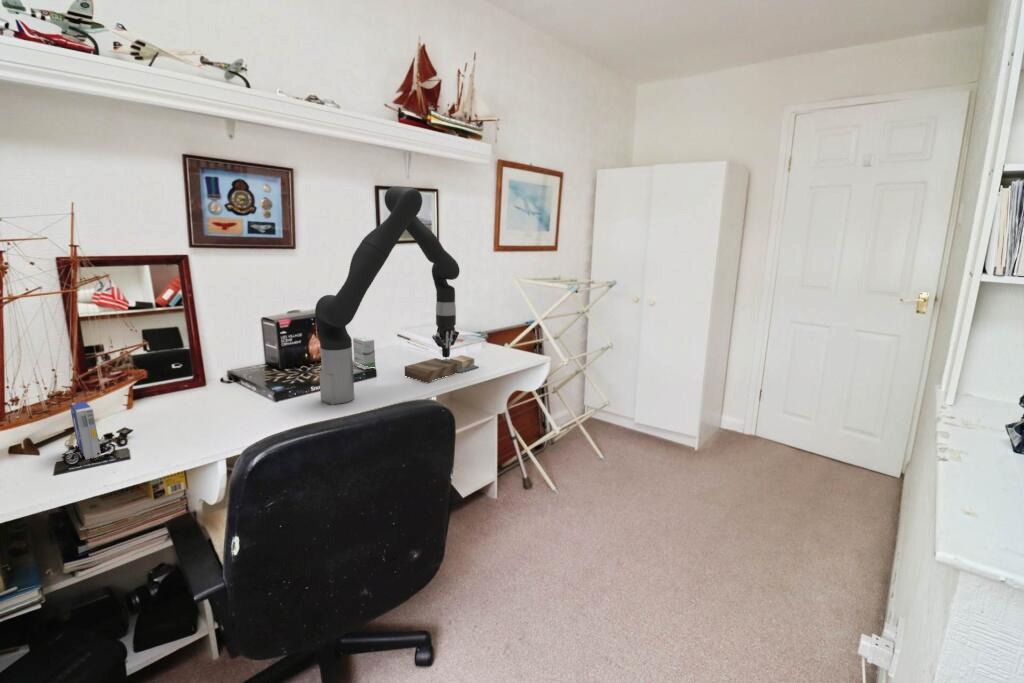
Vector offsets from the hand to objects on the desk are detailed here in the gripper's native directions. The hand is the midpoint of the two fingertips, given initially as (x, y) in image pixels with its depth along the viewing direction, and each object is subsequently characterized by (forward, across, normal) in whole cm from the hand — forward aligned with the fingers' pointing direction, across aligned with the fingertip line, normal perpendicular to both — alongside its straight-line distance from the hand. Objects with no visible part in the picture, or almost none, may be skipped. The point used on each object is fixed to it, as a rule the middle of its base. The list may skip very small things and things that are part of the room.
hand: (446, 356), depth 185 cm
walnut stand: (+6, -8, 0) cm, 10 cm away
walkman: (+6, -105, +15) cm, 106 cm away
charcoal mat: (+6, +6, +2) cm, 9 cm away
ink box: (+6, -18, +27) cm, 33 cm away
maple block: (+2, +8, -1) cm, 9 cm away
